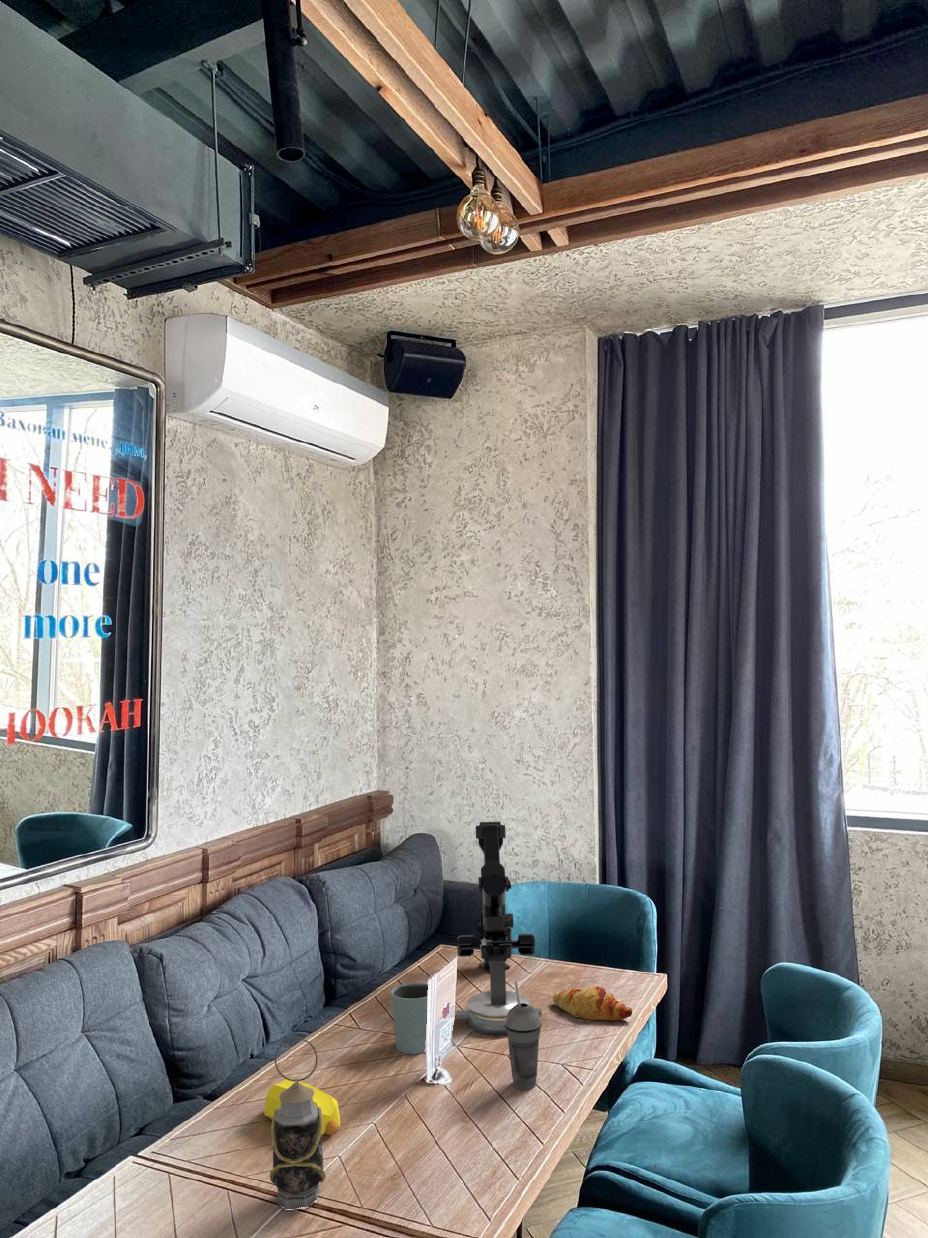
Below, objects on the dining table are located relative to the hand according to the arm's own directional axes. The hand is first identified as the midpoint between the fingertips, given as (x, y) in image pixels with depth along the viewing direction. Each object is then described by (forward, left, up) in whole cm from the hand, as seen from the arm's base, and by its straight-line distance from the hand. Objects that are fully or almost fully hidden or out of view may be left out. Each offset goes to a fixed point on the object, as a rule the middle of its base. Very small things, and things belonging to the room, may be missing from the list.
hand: (497, 978), depth 218 cm
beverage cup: (+33, -13, -9) cm, 36 cm away
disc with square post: (+2, -1, -5) cm, 6 cm away
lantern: (+48, -64, -9) cm, 80 cm away
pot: (+4, -2, -9) cm, 10 cm away
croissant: (+10, +20, -9) cm, 24 cm away
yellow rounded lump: (+25, -56, -9) cm, 62 cm away
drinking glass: (+5, -24, -9) cm, 26 cm away
